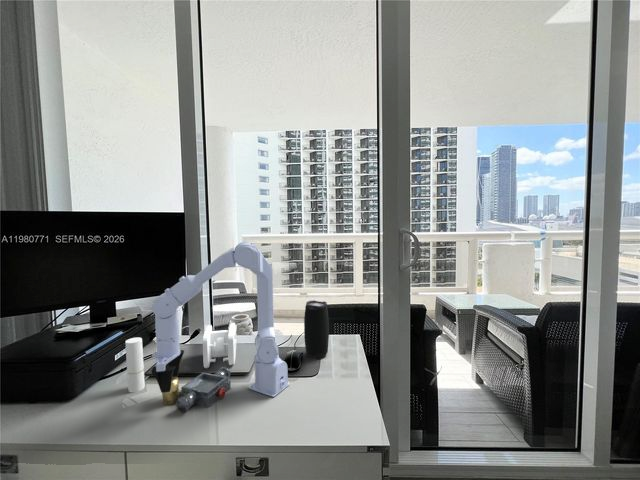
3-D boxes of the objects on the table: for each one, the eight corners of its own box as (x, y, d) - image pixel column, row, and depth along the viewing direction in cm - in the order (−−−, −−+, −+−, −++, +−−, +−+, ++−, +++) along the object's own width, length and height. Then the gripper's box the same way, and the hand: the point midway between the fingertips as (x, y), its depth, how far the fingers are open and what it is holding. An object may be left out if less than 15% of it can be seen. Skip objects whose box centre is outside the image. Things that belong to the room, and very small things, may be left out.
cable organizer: (208, 353, 121) (207, 323, 120) (237, 350, 123) (236, 320, 122) (203, 371, 106) (201, 337, 105) (236, 368, 108) (234, 334, 108)
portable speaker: (332, 351, 120) (332, 300, 119) (321, 362, 112) (321, 307, 110) (312, 347, 124) (311, 298, 122) (300, 357, 115) (299, 304, 114)
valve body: (212, 376, 103) (211, 364, 103) (241, 382, 99) (241, 369, 99) (167, 408, 86) (167, 394, 85) (201, 417, 82) (200, 402, 82)
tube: (137, 393, 94) (134, 343, 93) (124, 391, 95) (121, 342, 93) (148, 385, 98) (145, 337, 97) (135, 384, 99) (133, 337, 98)
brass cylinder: (182, 399, 90) (181, 378, 90) (168, 406, 87) (167, 385, 86) (173, 395, 92) (172, 375, 92) (159, 402, 89) (158, 381, 88)
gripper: (160, 328, 95) (162, 373, 96) (142, 348, 80) (144, 400, 81) (185, 327, 96) (187, 370, 97) (172, 346, 82) (174, 397, 83)
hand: (169, 384), depth 89 cm, fingers open, 7 cm apart
